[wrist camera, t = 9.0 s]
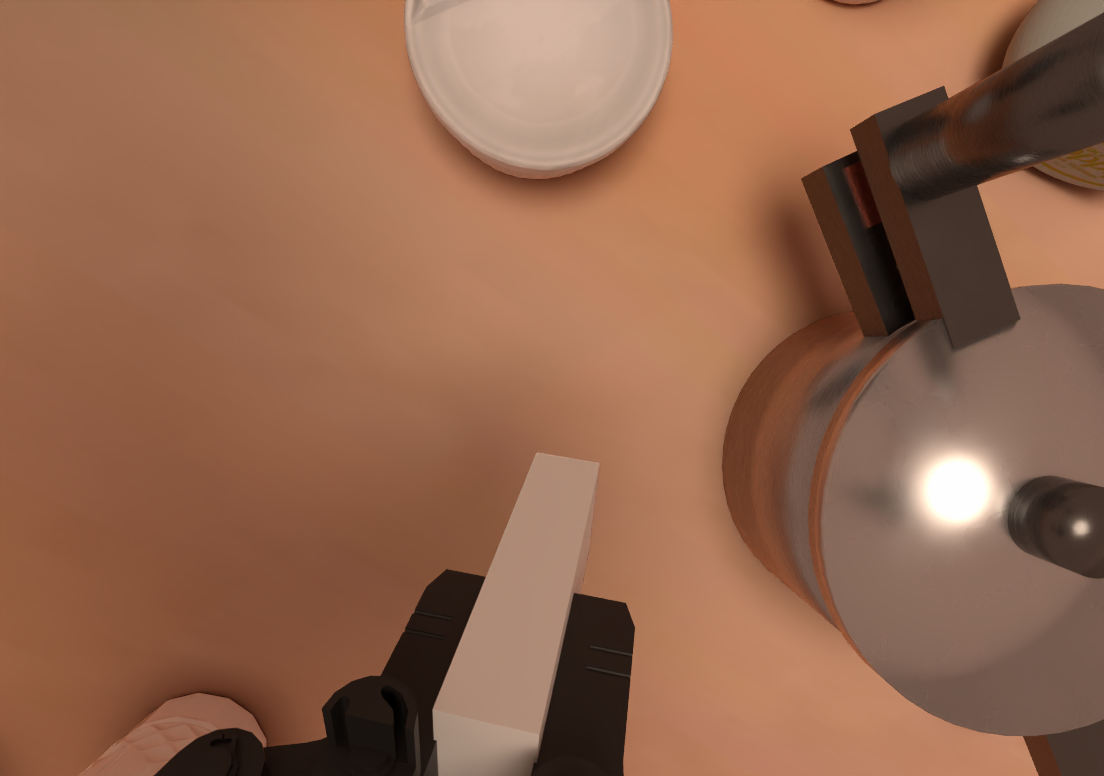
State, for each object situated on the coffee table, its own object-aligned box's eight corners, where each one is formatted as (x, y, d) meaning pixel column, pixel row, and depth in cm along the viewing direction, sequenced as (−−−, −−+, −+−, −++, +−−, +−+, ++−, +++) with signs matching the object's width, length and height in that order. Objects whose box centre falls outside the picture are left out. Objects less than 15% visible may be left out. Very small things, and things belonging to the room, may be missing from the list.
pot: (1085, 630, 34) (1293, 734, 25) (836, 756, 33) (958, 908, 24) (899, 140, 31) (1060, 56, 22) (622, 267, 30) (671, 234, 21)
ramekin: (502, -85, 29) (501, -181, 23) (688, 55, 30) (727, -6, 25) (376, 110, 29) (347, 58, 24) (565, 242, 30) (578, 220, 25)
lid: (1262, 610, 24) (1671, 754, 15) (892, 782, 23) (1111, 1030, 15) (1087, 31, 21) (1457, -167, 13) (670, 203, 21) (782, 108, 12)
